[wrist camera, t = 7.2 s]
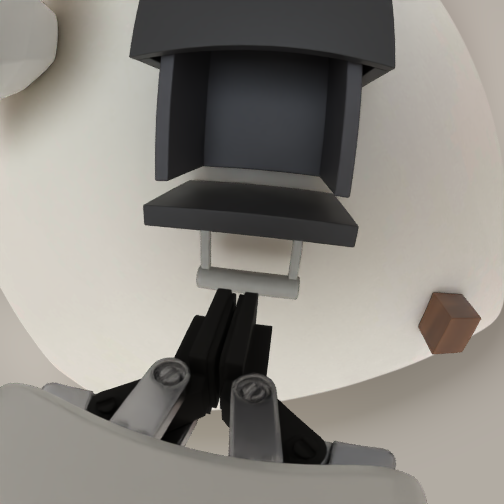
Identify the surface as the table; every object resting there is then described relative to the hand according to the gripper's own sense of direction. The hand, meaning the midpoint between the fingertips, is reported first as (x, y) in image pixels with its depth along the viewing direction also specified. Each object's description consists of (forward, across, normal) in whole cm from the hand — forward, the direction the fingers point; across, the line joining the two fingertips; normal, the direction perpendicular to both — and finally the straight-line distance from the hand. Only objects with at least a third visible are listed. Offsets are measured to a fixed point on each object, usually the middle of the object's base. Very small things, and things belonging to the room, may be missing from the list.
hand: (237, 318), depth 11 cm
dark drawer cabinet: (+13, 0, -19) cm, 23 cm away
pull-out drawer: (+12, 0, -6) cm, 13 cm away
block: (+13, -20, +7) cm, 25 cm away
